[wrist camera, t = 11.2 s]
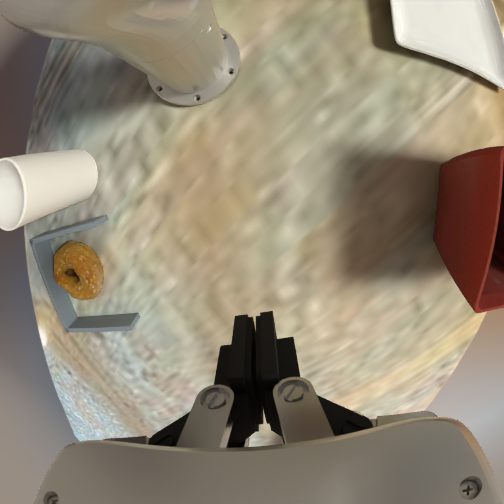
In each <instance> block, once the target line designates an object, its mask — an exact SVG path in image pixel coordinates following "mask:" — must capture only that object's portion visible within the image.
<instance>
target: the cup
mask: <svg viewBox="0 0 504 504" xmlns="http://www.w3.org/2000/svg"><path fill="white" fill-rule="evenodd" d="M97 179H98V171H97V166H96V163H95V161H94V159H93V157H92V156H91V155H90V154H89V153H88V152H86V151H84V150H79V149H77V150H64V151H53V152H44V153H35V154H27V155H20V156H14V157H7V158H3V159H0V228H2V229H3V230H6V231H11V230H14V229H16V228H19V227H21V226H23V225H25V224H27V223H30V222H32V221H34V220H37V219H39V218H41V217H44V216H46V215H48V214H51V213H53V212H56V211H58V210H61V209H63V208H66V207H68V206H71V205H74V204H76V203H79V202H82V201H84V200H86V199H87V198H89V197H90V196H91V194H92V193H93V192H94V190H95V187H96V184H97Z"/></svg>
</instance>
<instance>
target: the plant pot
mask: <svg viewBox="0 0 504 504" xmlns="http://www.w3.org/2000/svg"><path fill="white" fill-rule="evenodd" d="M434 241H435V244H436V247H437V249H438V251H439V253H440V255H441V257H442V259H443V261H444V263H445V265H446V267H447V269H448V271H449V273H450V274H451V276H452V278H453V280H454V281H455V283H456V285H457V286H458V288H459V289H460V291H461V292H462V294H463V295H464V297H465V299H466V300H467V301H468V303H469V304H470V306H471V307H472V308H473V310H474V311H475V312H476V313H481V312H486V311H490V310H495V309H499V308H504V146H497V147H489V148H484V149H479V150H475V151H471V152H468V153H465V154H462V155H459V156H457V157H455V158H453V159H451V160H449V161H447V162H446V163H444V164H443V165H442V166H441V169H440V183H439V195H438V205H437V214H436V222H435V230H434Z"/></svg>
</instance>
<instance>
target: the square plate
mask: <svg viewBox="0 0 504 504" xmlns="http://www.w3.org/2000/svg"><path fill="white" fill-rule="evenodd" d="M390 5H391V14H392V25H393V32H394V37H395V41H396V43H397V44H398V45H400V46H402V47H405V48H408V49H411V50H414V51H417V52H420V53H424V54H427V55H430V56H433V57H437V58H440V59H443V60H445V61H448V62H451V63H453V64H456V65H458V66H461V67H463V68H465V69H467V70H469V71H472V72H474V73H476V74H477V75H479V76H481V77H483V78H485V79H487V80H488V81H490V82H492V83H493V84H495V85H496V86H498V87H500V88H501V89H503V90H504V37H503V33H502V30H501V26H500V22H499V19H498V16H497V13H496V10H495V7H494V4H493V2H492V0H390Z"/></svg>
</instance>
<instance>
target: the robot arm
mask: <svg viewBox="0 0 504 504" xmlns="http://www.w3.org/2000/svg"><path fill="white" fill-rule="evenodd" d="M0 14H1V16H2V17H3V18H4V19H5V20H6V21H8V22H9V23H10V24H12V25H14V26H15V27H17V28H19V29H21V30H23V31H25V32H28V33H31V34H34V35H38V36H42V37H47V38H53V39H60V40H69V41H78V42H84V43H89V44H92V45H95V46H98V47H100V48H102V49H104V50H106V51H108V52H110V53H112V54H114V55H115V56H117V57H119V58H120V59H122V60H124V61H125V62H127V63H129V64H130V65H132V66H134V67H135V68H137V69H139V70H140V71H142V72H143V73H145V74H147V78H148V82H149V84H150V86H151V88H152V89H153V90H154V92H155V93H156V94H157V95H158V96H160V97H161V98H162V99H164V100H166V101H168V102H170V103H173V104H176V105H182V106H194V105H200V104H203V103H206V102H209V101H211V100H213V99H215V98H217V97H219V96H220V95H221V94H222V93H224V92H225V91H226V90H227V89H228V88H229V87H230V86H231V85H232V83H233V81H234V80H235V78H236V77H237V74H238V71H239V68H240V52H239V48H238V45H237V43H236V41H235V40H234V38H233V37H232V36H231V35H230V34H229V33H228V32H227V31H225V30H224V29H222V28H220V27H219V25H218V22H217V19H216V16H215V13H214V10H213V7H212V4H211V1H210V0H0ZM224 38H227V39H224ZM230 72H233V74H229V73H230ZM161 88H162V90H161V91H160V89H161ZM198 97H200V100H199V101H197V98H198ZM263 409H264V413H265V417H266V422H267V424H268V423H270V427H271V430H272V431H273V432H275V433H276V434H278V435H280V436H281V438H282V442H283V444H280V445H270V446H258V447H248V446H249V437H250V436H251V435H252V434H253V433H254V432H256V431H259V424H263ZM34 504H504V497H503V495H502V492H501V489H500V487H499V484H498V482H497V480H496V477H495V475H494V473H493V470H492V468H491V466H490V463H489V461H488V460H487V458H486V456H485V454H484V452H483V450H482V448H481V446H480V445H479V443H478V442H477V440H476V438H475V437H474V436H473V434H472V433H471V432H470V431H469V429H468V428H467V427H466V426H465V425H464V424H463V423H461V422H459V421H458V420H455V419H452V418H446V417H438V416H436V415H435V414H434V413H432V412H429V411H420V412H413V413H405V414H397V415H387V416H377V419H368V418H367V417H365V416H363V415H361V414H358V413H356V412H354V411H351V410H349V409H347V408H344V407H342V406H340V405H337V404H335V403H333V402H331V401H329V400H326V399H324V398H322V397H320V396H318V395H316V392H315V390H314V388H313V385H312V384H311V383H310V381H308V380H307V379H305V378H301V377H300V373H299V367H298V361H297V355H296V349H295V344H294V338H293V337H288V338H282V339H277V336H276V330H275V323H274V317H273V311H269V312H262V313H260V316H256V331H255V326H254V321H253V317H248V315H239V316H235V320H234V328H233V336H232V344H231V345H223V346H221V347H220V352H219V358H218V364H217V370H216V376H215V381H214V385H212V386H208V387H206V388H204V389H203V390H202V391H200V392H199V394H198V395H197V397H196V399H195V402H194V404H193V407H192V409H191V411H190V412H189V413H187V414H186V415H184V416H183V417H181V418H180V419H178V420H176V421H175V422H173V423H172V424H170V425H168V426H167V427H165V428H164V429H162V430H160V431H159V432H157V433H156V434H154V435H153V436H152V437H151V438H148V437H147V436H140V437H128V438H110V439H104V440H88V441H81V442H76V443H72V444H69V445H68V446H66V447H64V448H63V449H62V450H61V451H60V452H59V453H58V455H57V456H56V458H55V460H54V461H53V463H52V464H51V466H50V468H49V470H48V472H47V474H46V476H45V478H44V480H43V482H42V485H41V487H40V489H39V492H38V494H37V497H36V499H35V502H34Z"/></svg>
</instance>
